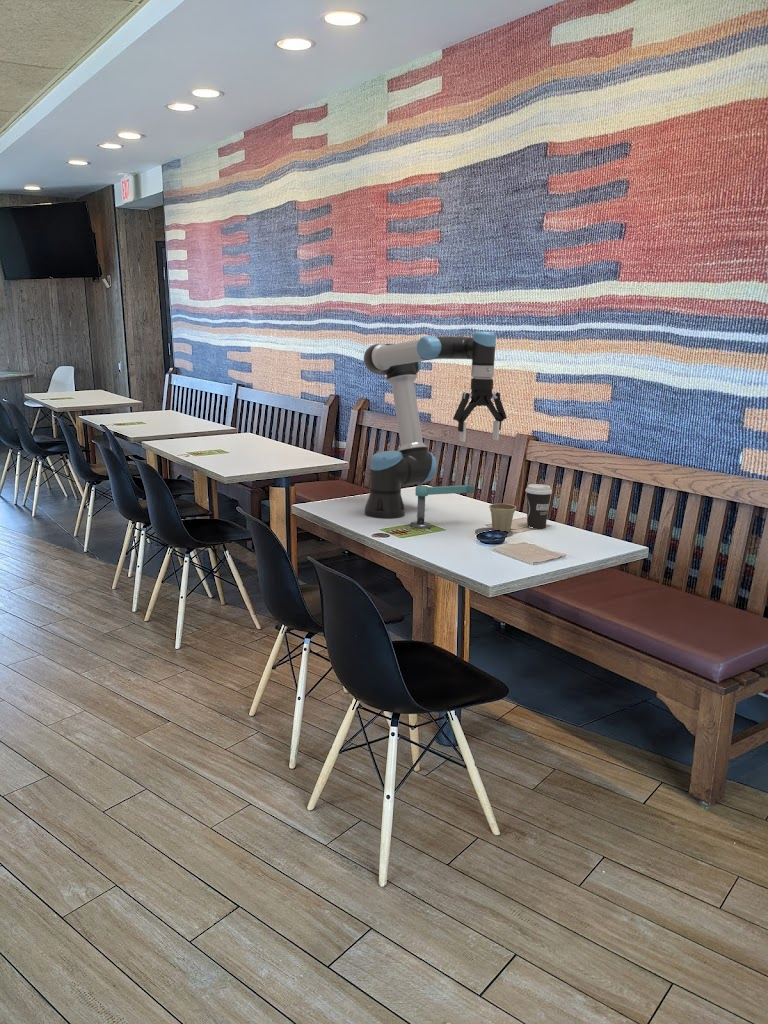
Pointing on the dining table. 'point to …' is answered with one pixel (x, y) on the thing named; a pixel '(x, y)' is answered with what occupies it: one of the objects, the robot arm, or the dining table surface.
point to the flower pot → (502, 516)
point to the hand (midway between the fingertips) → (479, 440)
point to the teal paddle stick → (443, 490)
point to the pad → (488, 530)
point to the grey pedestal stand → (420, 515)
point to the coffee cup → (537, 505)
